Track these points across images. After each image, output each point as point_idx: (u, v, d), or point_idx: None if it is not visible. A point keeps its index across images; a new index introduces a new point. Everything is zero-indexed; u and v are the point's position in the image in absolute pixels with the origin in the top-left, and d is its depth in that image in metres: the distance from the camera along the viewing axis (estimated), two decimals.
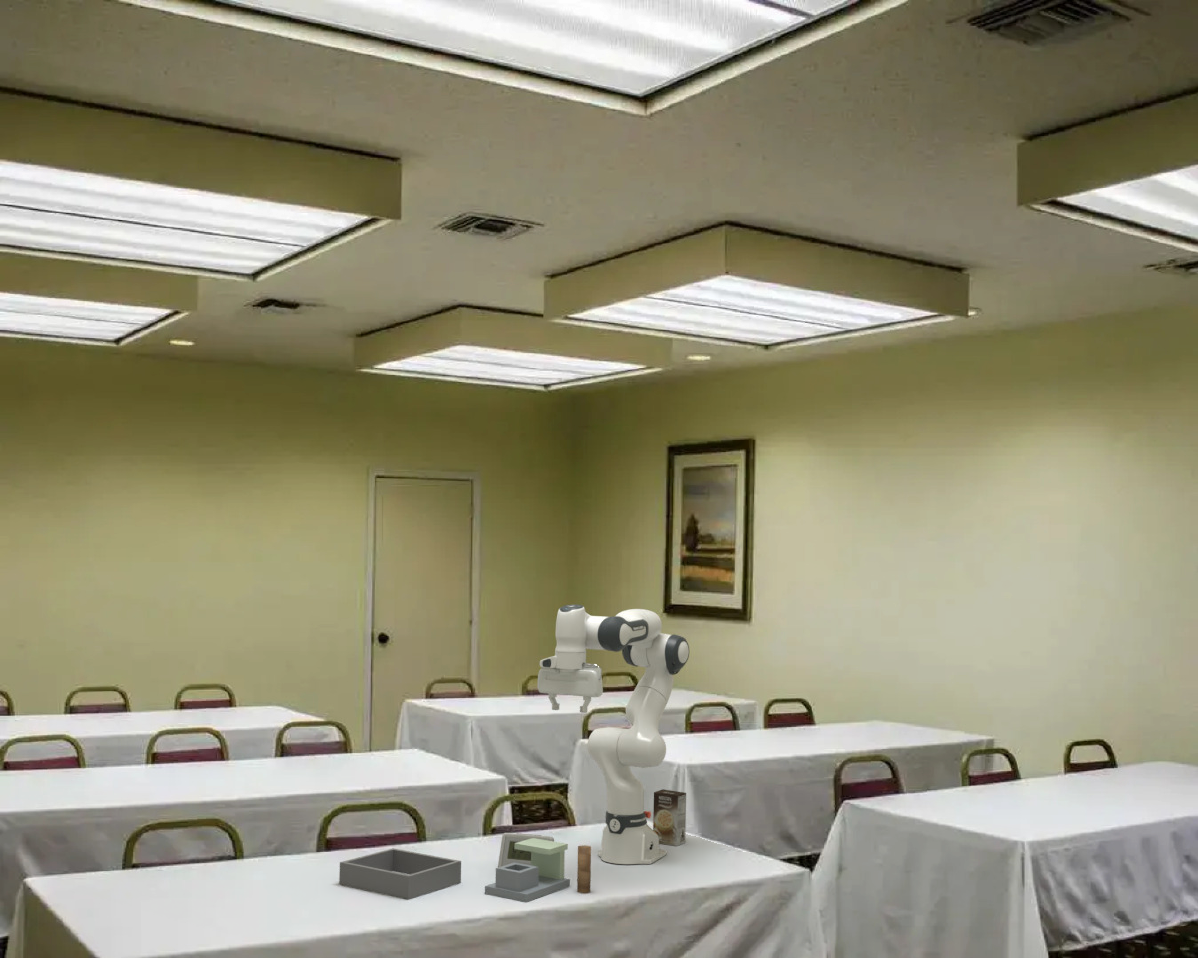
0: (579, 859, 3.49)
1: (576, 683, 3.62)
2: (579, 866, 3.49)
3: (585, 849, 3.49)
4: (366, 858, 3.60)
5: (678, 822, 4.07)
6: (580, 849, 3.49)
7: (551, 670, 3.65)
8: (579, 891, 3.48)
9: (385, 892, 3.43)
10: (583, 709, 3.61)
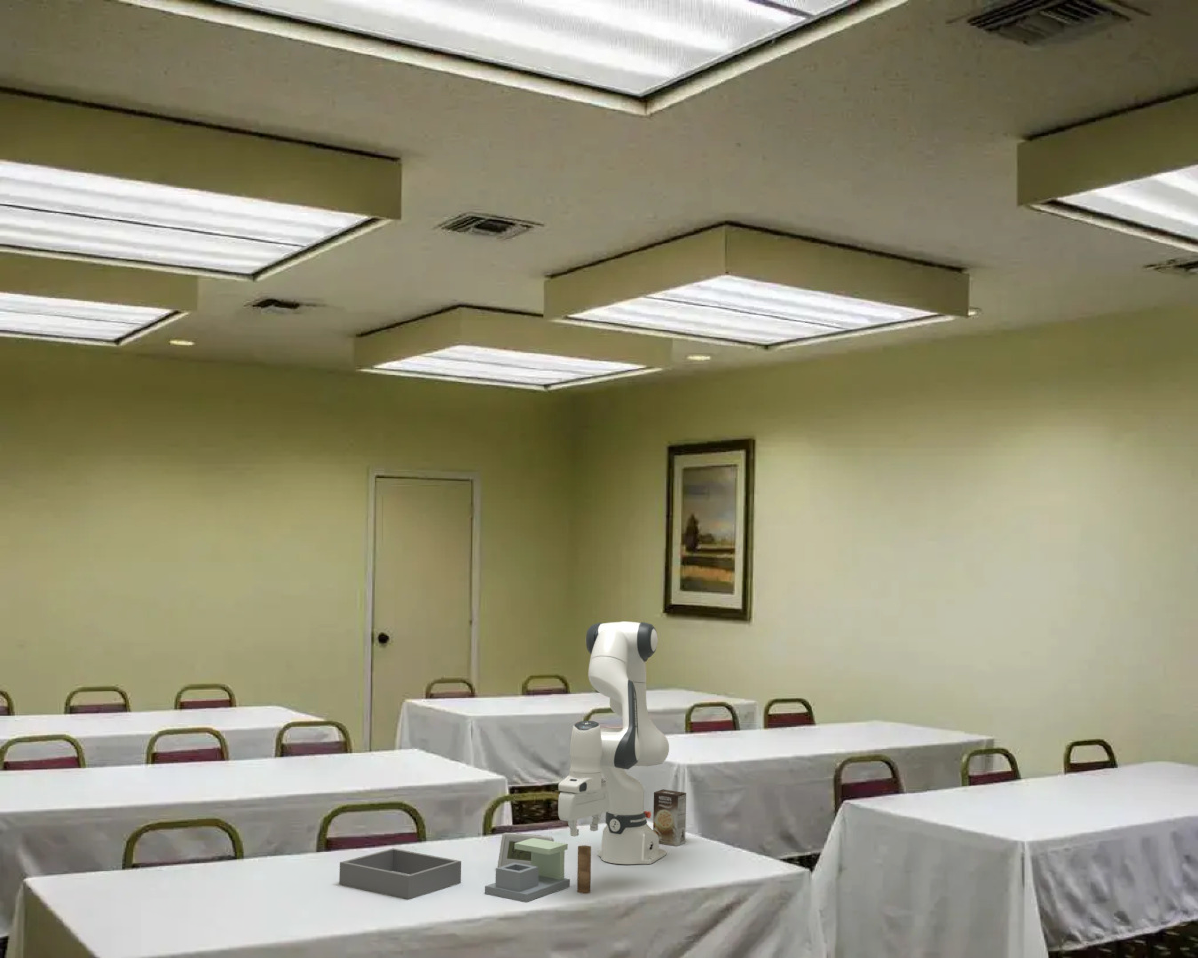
0: (579, 859, 3.49)
1: (596, 802, 3.53)
2: (579, 866, 3.49)
3: (585, 849, 3.49)
4: (366, 858, 3.60)
5: (678, 822, 4.07)
6: (580, 849, 3.49)
7: (584, 794, 3.46)
8: (579, 891, 3.48)
9: (385, 892, 3.43)
10: (597, 827, 3.54)
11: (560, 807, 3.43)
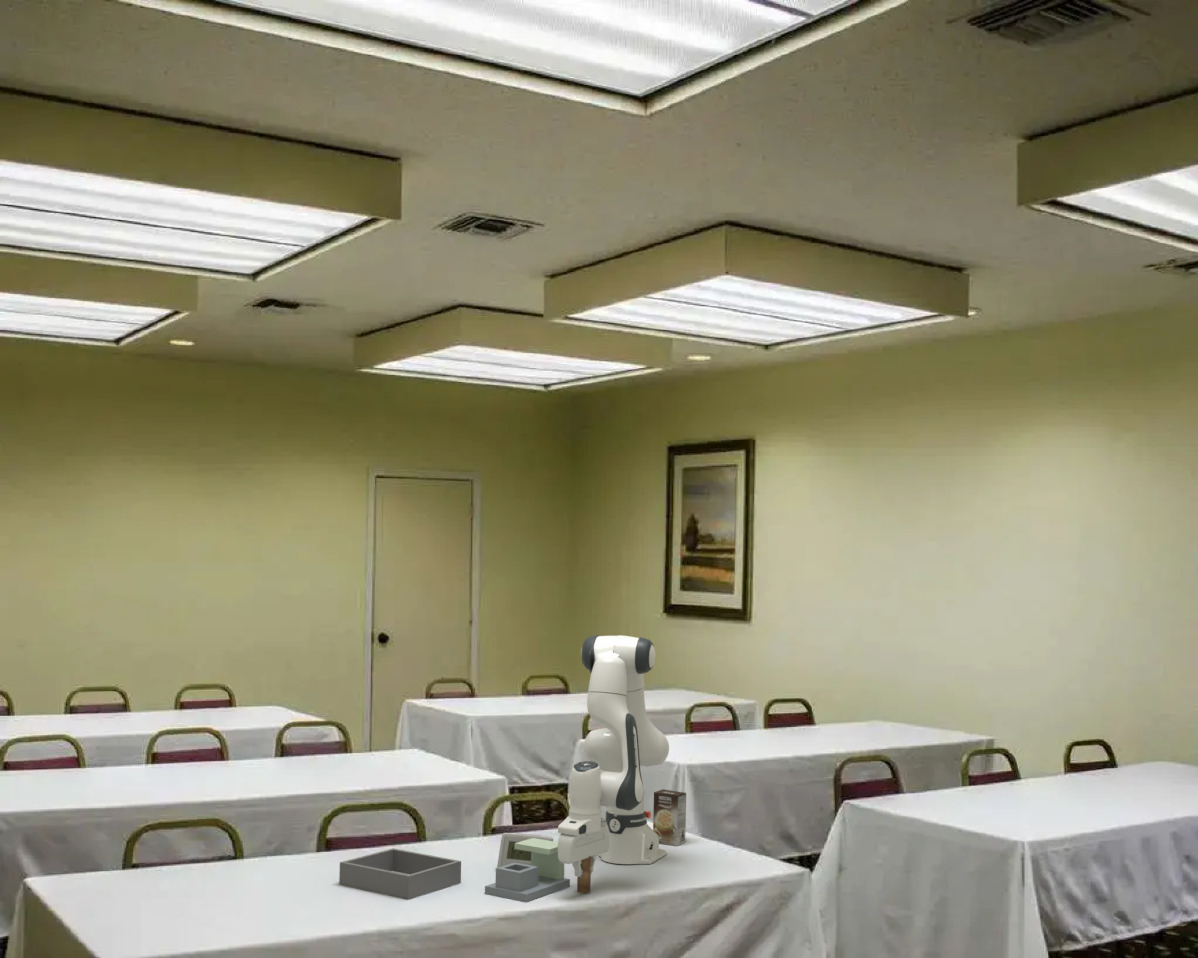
0: None
1: (596, 842, 3.52)
2: None
3: None
4: (366, 858, 3.60)
5: (678, 822, 4.07)
6: None
7: (583, 836, 3.45)
8: (579, 891, 3.48)
9: (385, 892, 3.43)
10: (592, 869, 3.52)
11: (560, 849, 3.43)
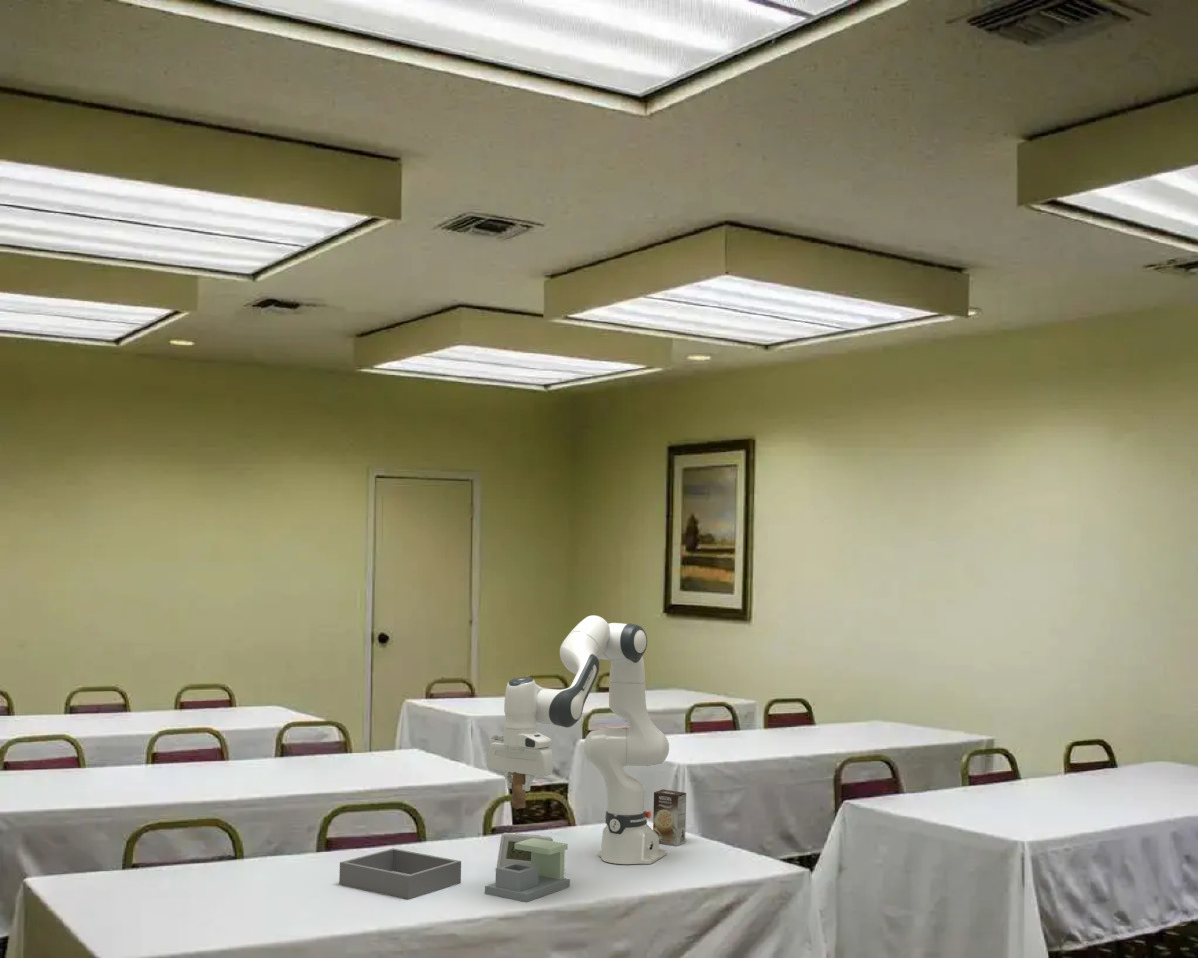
0: (523, 774, 3.47)
1: None
2: (523, 781, 3.47)
3: None
4: (366, 858, 3.60)
5: (678, 822, 4.07)
6: None
7: None
8: (523, 806, 3.46)
9: (385, 892, 3.43)
10: None
11: (546, 763, 3.42)
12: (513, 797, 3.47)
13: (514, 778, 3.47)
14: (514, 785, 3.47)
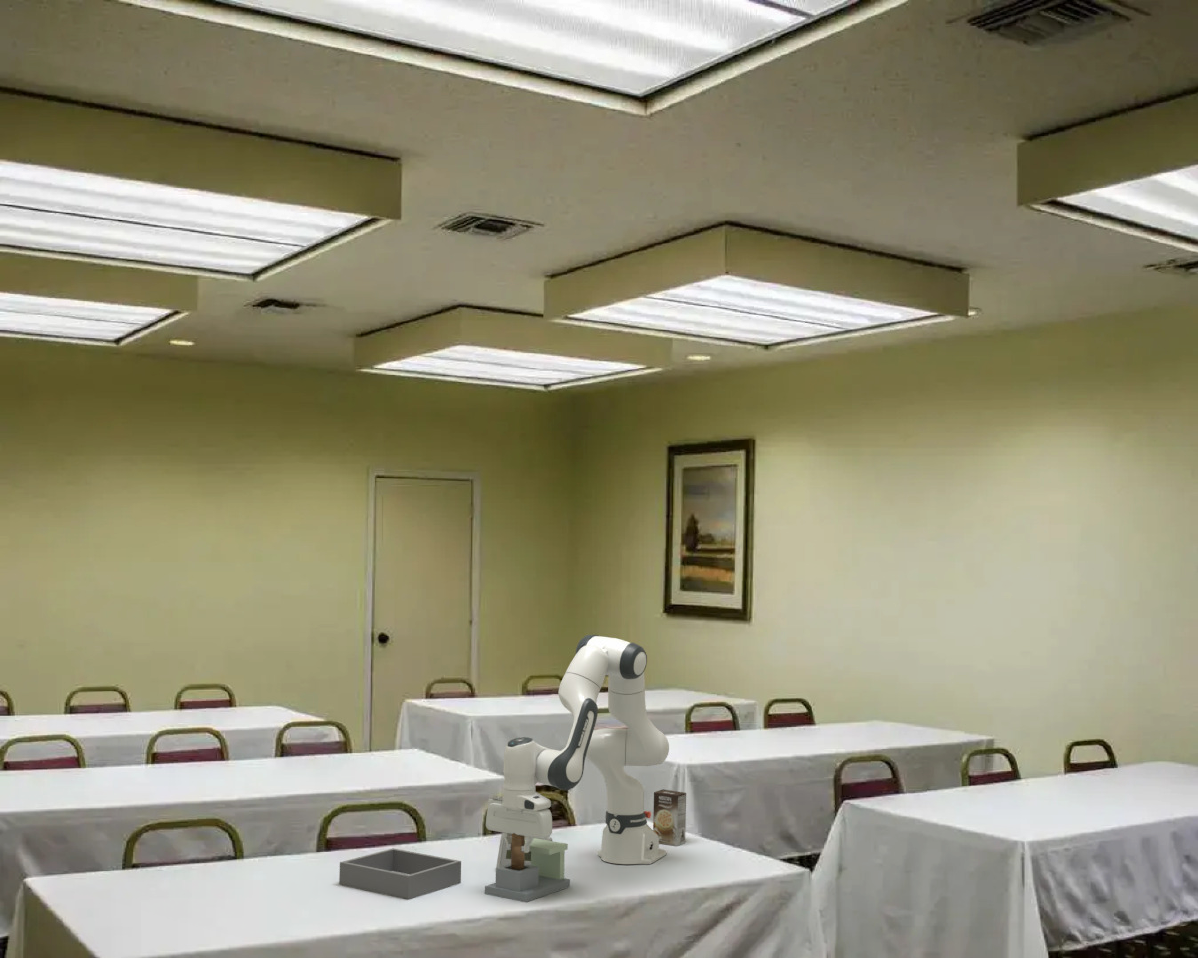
0: (522, 836, 3.46)
1: None
2: (522, 843, 3.46)
3: None
4: (366, 858, 3.60)
5: (678, 822, 4.07)
6: None
7: None
8: (522, 868, 3.45)
9: (385, 892, 3.43)
10: None
11: (545, 825, 3.41)
12: (512, 859, 3.46)
13: (513, 839, 3.46)
14: (513, 846, 3.45)
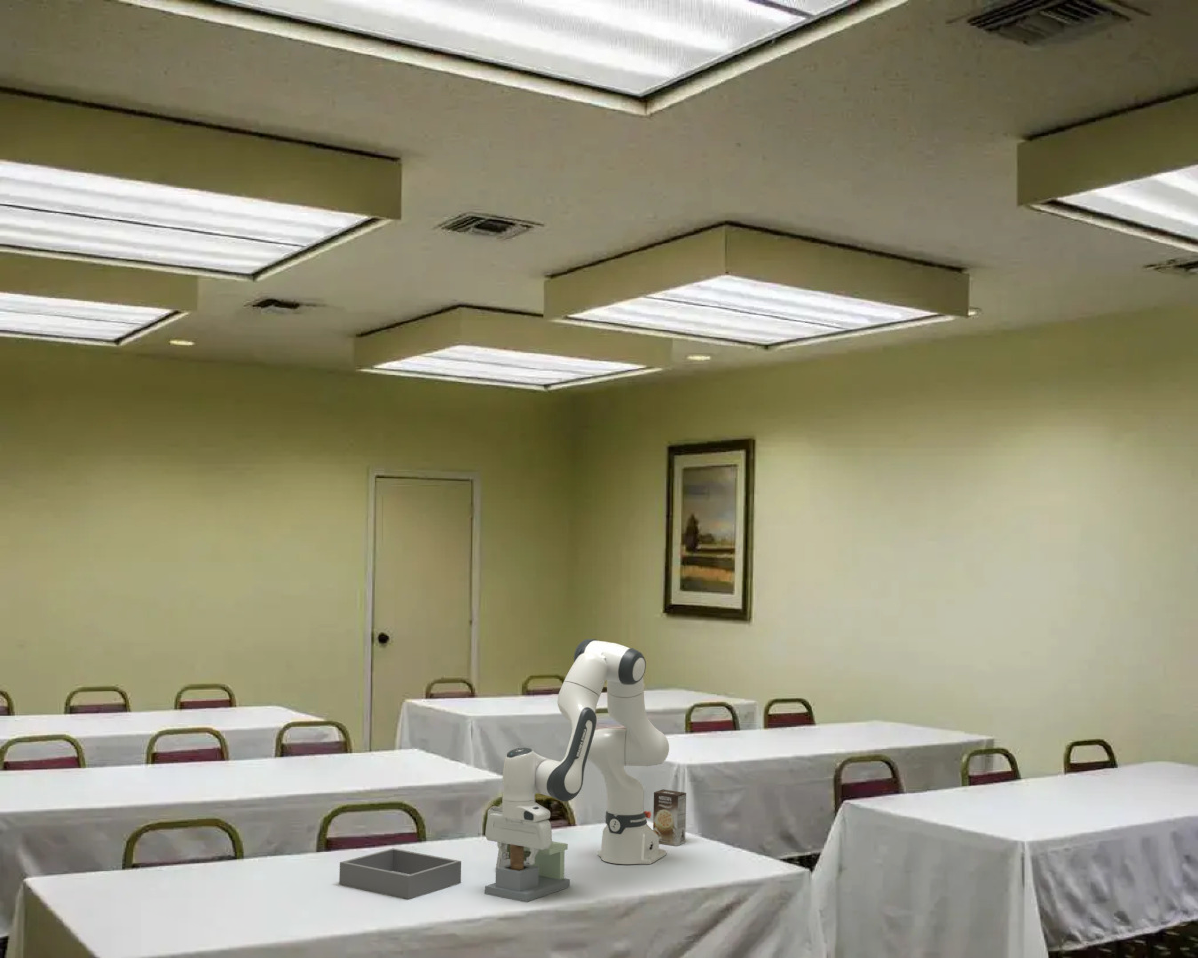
0: (521, 853, 3.46)
1: None
2: (521, 860, 3.46)
3: None
4: (366, 858, 3.60)
5: (678, 822, 4.07)
6: None
7: None
8: None
9: (385, 892, 3.43)
10: None
11: (545, 836, 3.41)
12: None
13: (511, 857, 3.46)
14: (512, 864, 3.46)
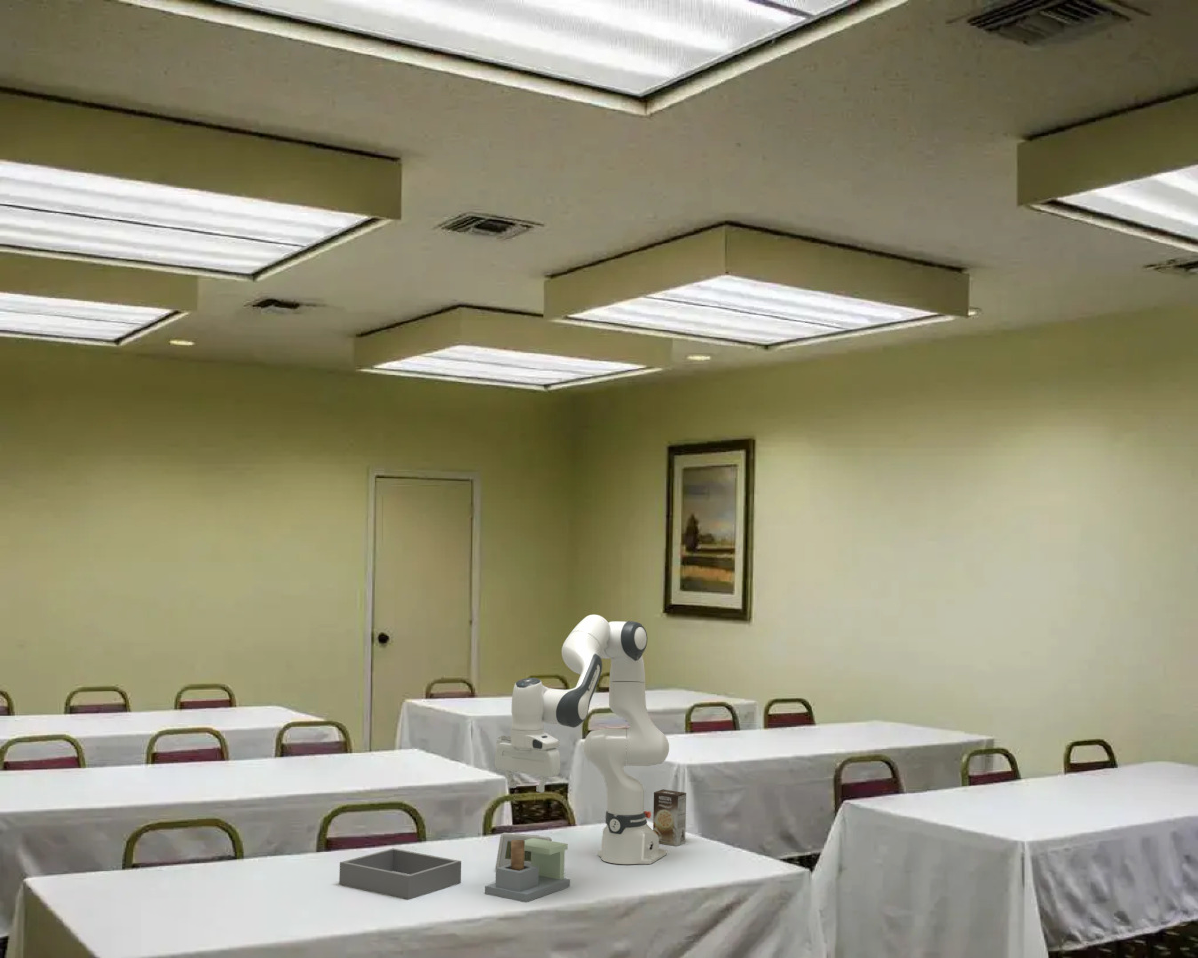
0: (521, 854, 3.46)
1: None
2: (521, 861, 3.46)
3: None
4: (366, 858, 3.60)
5: (678, 822, 4.07)
6: (522, 843, 3.46)
7: None
8: None
9: (385, 892, 3.43)
10: None
11: (553, 764, 3.44)
12: None
13: (512, 857, 3.46)
14: (512, 864, 3.45)
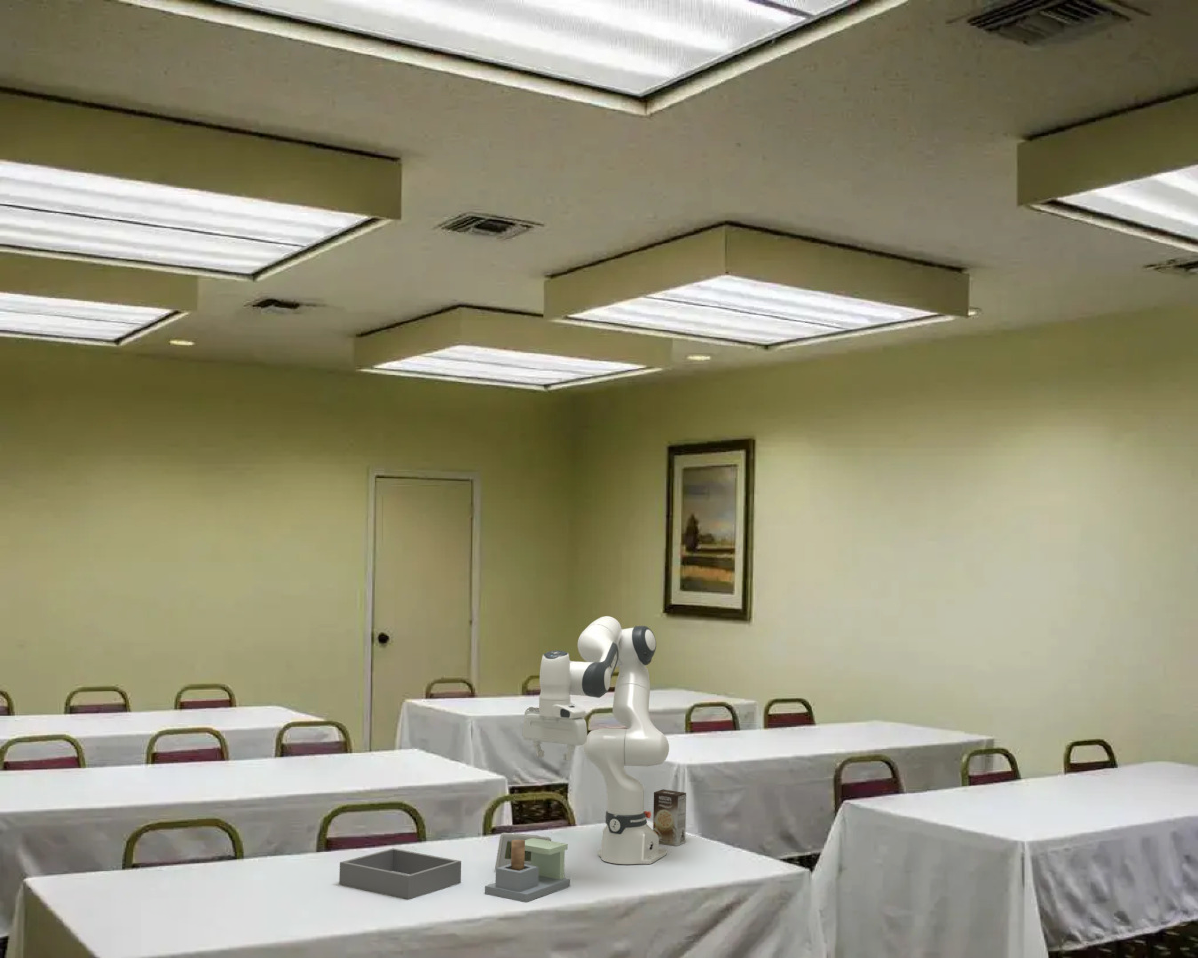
0: (522, 853, 3.46)
1: None
2: (522, 861, 3.46)
3: (524, 842, 3.47)
4: (366, 858, 3.60)
5: (678, 822, 4.07)
6: (523, 843, 3.46)
7: None
8: None
9: (385, 892, 3.43)
10: None
11: (580, 732, 3.56)
12: None
13: (512, 857, 3.46)
14: (513, 864, 3.45)
